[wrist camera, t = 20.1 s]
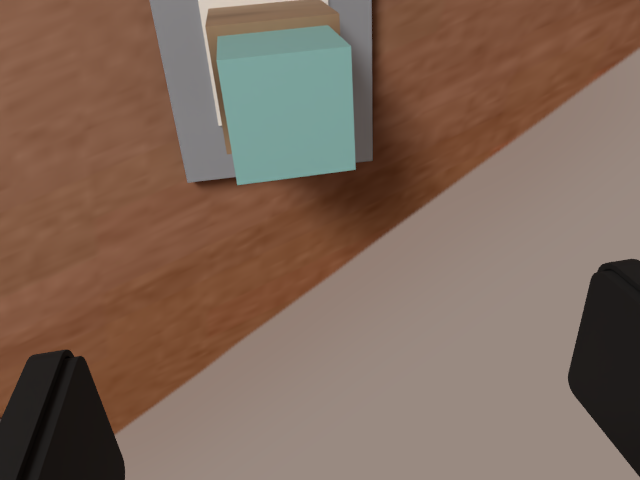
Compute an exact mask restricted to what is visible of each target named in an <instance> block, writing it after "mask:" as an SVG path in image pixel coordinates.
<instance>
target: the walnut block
mask: <svg viewBox="0 0 640 480" xmlns="http://www.w3.org/2000/svg"><path fill="white" fill-rule="evenodd" d="M325 25H328V26H330V27H331V28H332V29H333V30H334V31H335V32H336V33H337V34H338V35H339V36H340V18H339V13H338V12H337V11H335V10H334V9H332V8H331V7H330V6H328V5H327V4H326V3H324V2H323V1H322V0H295V1H284V2H274V3H263V4H252V5H242V6H231V7H221V8H210V9H208V13H207V19H206V25H205V28H206V34H207V40H208V46H209V52H210V58H211V63H212V69H213V75H214V81H215V87H216V93H217V99H218V105H219V111H220V116H221V122H222V128H223V134H224V140H225V146H226V152H227V154H232V150H231V144H230V138H229V132H228V126H227V121H226V115H225V109H224V103H223V97H222V91H221V85H220V79H219V73H218V67H217V61H216V60H217V36H227V35H237V34H246V33H256V32H266V31H276V30H285V29H295V28H305V27H315V26H325Z"/></svg>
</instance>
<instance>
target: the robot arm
mask: <svg viewBox="0 0 640 480" xmlns="http://www.w3.org/2000/svg"><path fill="white" fill-rule="evenodd" d="M568 382H569V386H570V389H571V391H572V393H573V394H574V395H575V397H576V398H577V399H578V401H579V402H580V403H581V404H582V405H583V407H584V408H585V409H586V410H587V412H588V413H589V414H590V415H591V417H592V418H593V419H594V420H595V422H596V423H597V424H598V425H599V427H600V428H601V429H602V430H603V432H605V434H606V435H607V437H608V438H609V439H610V440H611V442H612V443H613V444H614V445H615V447H616V448H617V449H618V450H619V452H620V453H621V454H622V455H623V457H624V458H625V459H626V460H627V462H628V463H629V464H630V465H631V467H632V468H633V469H634V470H635V471H636V473H637V474H638V475H639V476H640V261H639V260H636V259H628V260H622V261H616V262H609V263H605V264H602V265H601V266H600V267H599V269H598V272H597V273H594V275H593V276H592V278H591V281H590V285H589V289H588V293H587V298H586V302H585V306H584V311H583V315H582V319H581V323H580V327H579V331H578V336H577V340H576V344H575V348H574V352H573V357H572V361H571V365H570V369H569V374H568ZM0 480H125V466H124V460H123V457H122V454H121V452H120V449H119V447H118V444H117V441H116V439H115V436H114V433H113V431H112V428H111V426H110V423H109V420H108V418H107V415H106V412H105V410H104V407H103V405H102V402H101V399H100V397H99V394H98V392H97V389H96V386H95V384H94V381H93V378H92V376H91V373H90V371H89V368H88V365H87V363H86V361H85V359H84V358H83V357H82V356H78V357H74V356H73V354H72V352H71V351H70V350H61V351H55V352H48V353H42V354H36V355H32V356H31V357H29V359H28V360H27V362H26V364H25V367H24V369H23V371H22V373H21V376H20V378H19V380H18V382H17V385H16V387H15V389H14V391H13V394H12V396H11V398H10V400H9V403H8V405H7V407H6V409H5V412H4V414H3V416H2V418H1V419H0Z"/></svg>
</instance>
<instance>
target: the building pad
mask: <svg viewBox="0 0 640 480" xmlns="http://www.w3.org/2000/svg"><path fill="white" fill-rule="evenodd" d="M284 1H295V0H150V5H151V10H152V14H153V19H154V24H155V29H156V34H157V38H158V43H159V48H160V53H161V58H162V62H163V67H164V72H165V77H166V82H167V86H168V91H169V96H170V101H171V105H172V110H173V115H174V120H175V125H176V129H177V134H178V139H179V144H180V149H181V153H182V158H183V163H184V168H185V173H186V177H187V182H188V183H189V182H198V181H206V180H214V179H223V178H231V177H236V174H235V168H234V162H233V156H232V154H227V152H226V146H225V140H224V134H223V128H222V122H221V116H220V111H219V105H218V99H217V93H216V87H215V81H214V75H213V69H212V63H211V58H210V52H209V46H208V40H207V34H206V28H205V25H206V19H207V13H208V9H210V8H221V7H231V6H242V5H252V4H263V3H274V2H284ZM322 1H323V2H324V3H326V4H327V5H328V6H330V7H331V8H332V9H334V10H335V11H337V12H338V13H339V18H340V37H342V38H343V39H344V40H345V41H346V42H347V43H348V44H349V45H350V46H351V57H352V84H353V111H354V138H355V163H357V162H365V161H373V130H372V0H322Z"/></svg>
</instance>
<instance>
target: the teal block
mask: <svg viewBox="0 0 640 480" xmlns="http://www.w3.org/2000/svg"><path fill="white" fill-rule="evenodd" d="M216 61H217V67H218V73H219V79H220V85H221V91H222V97H223V103H224V109H225V115H226V121H227V126H228V132H229V138H230V144H231V150H232V156H233V162H234V168H235V174H236V180H237V185H242V184H250V183H258V182H265V181H273V180H281V179H288V178H296V177H304V176H311V175H319V174H326V173H334V172H342V171H349V170H356V165H355V138H354V111H353V84H352V57H351V46H350V45H349V44H348V43H347V42H346V41H345V40H344V39H343V38H342V37H340V36H339V35H338V34H337V33H336V32H335V31H334V30H333V29H332V28H331V27H330V26H328V25H325V26H315V27H305V28H295V29H285V30H276V31H266V32H256V33H246V34H237V35H227V36H217V60H216Z"/></svg>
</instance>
